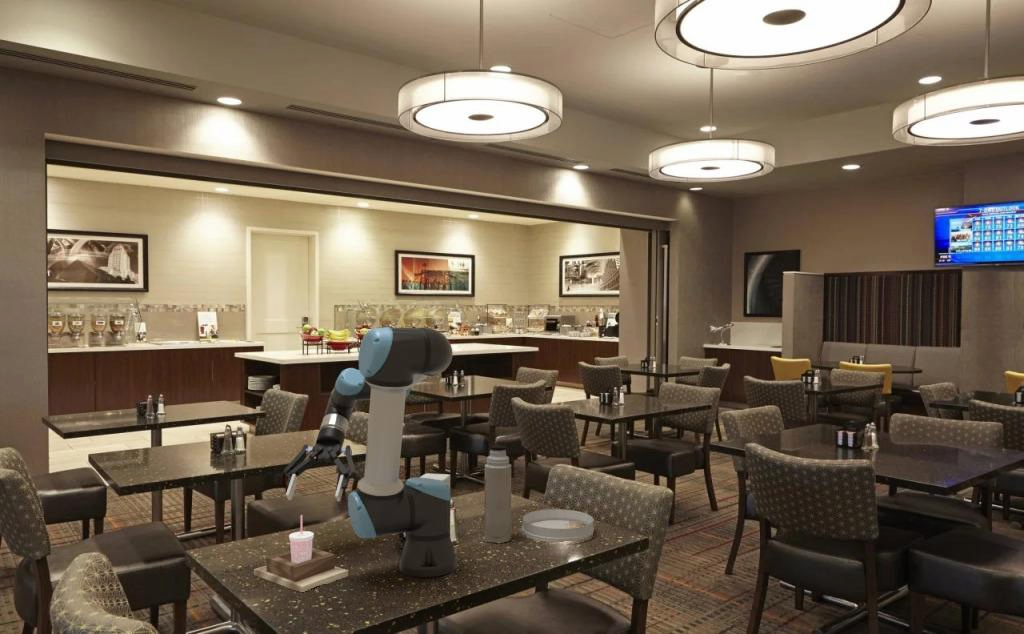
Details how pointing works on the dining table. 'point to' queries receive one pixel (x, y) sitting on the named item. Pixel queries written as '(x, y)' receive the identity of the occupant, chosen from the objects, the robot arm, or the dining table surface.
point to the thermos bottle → (497, 495)
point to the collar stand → (301, 570)
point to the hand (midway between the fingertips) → (312, 498)
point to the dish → (556, 525)
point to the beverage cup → (301, 545)
